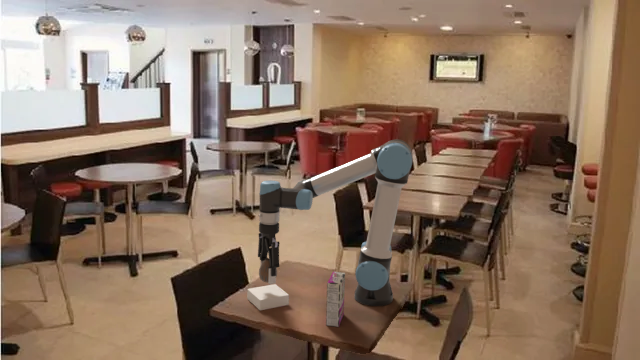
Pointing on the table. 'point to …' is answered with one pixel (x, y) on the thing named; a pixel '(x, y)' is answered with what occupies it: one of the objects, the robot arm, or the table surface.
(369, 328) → the table surface
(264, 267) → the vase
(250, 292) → the plinth
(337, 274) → the candy bar box
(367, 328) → the table surface
